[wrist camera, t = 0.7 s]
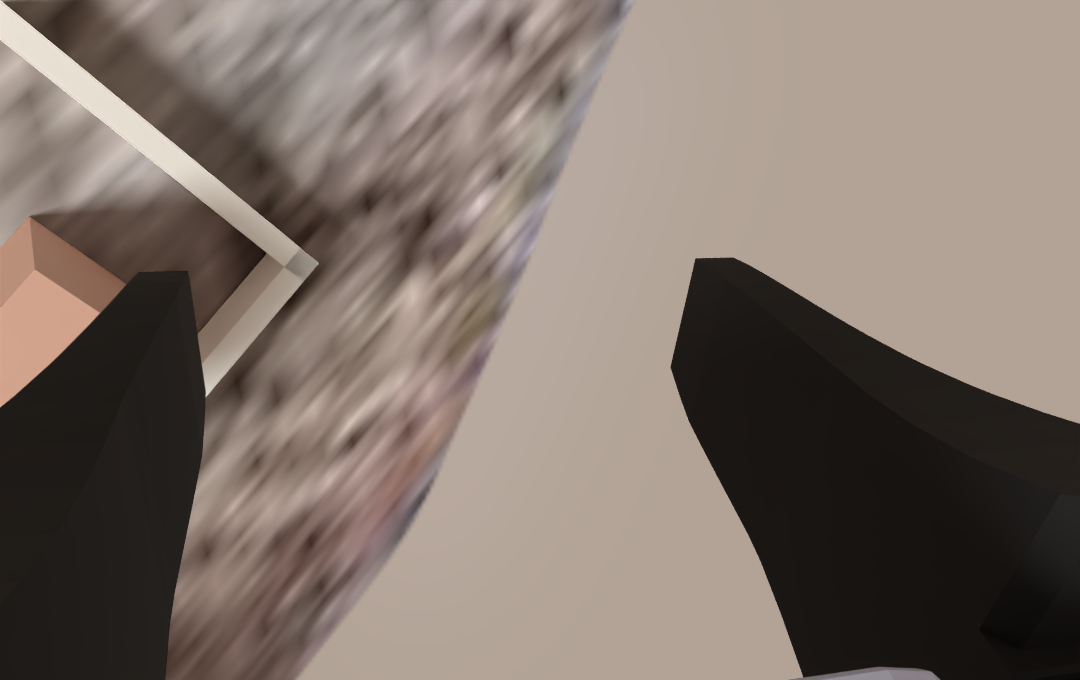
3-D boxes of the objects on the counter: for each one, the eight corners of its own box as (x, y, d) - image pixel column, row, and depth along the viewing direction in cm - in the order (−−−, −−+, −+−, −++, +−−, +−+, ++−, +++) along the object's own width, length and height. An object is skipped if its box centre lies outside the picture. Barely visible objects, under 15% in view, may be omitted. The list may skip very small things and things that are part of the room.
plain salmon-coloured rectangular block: (59, 390, 29) (73, 491, 22) (-63, 318, 27) (-88, 406, 20) (142, 295, 29) (180, 366, 23) (29, 216, 27) (35, 269, 20)
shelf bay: (51, 542, 30) (53, 577, 28) (-333, 354, 24) (-365, 381, 22) (299, 250, 31) (319, 263, 29) (-2, 2, 25) (-3, -3, 23)
